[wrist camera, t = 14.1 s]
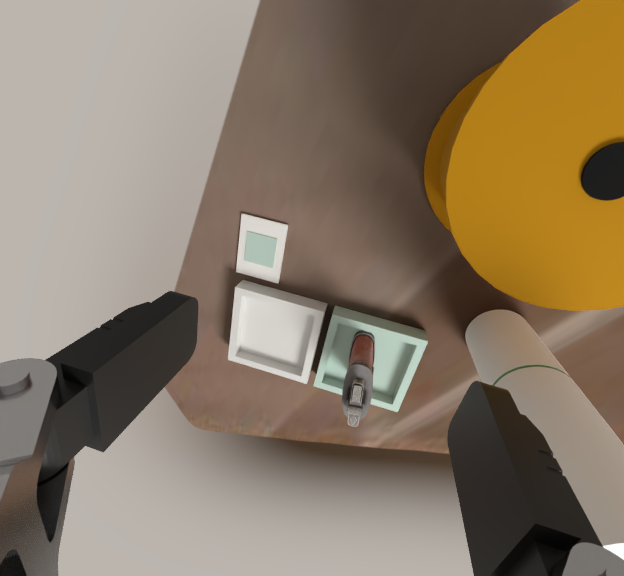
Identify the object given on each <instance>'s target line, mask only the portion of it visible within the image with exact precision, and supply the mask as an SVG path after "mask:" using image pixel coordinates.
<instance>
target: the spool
mask: <svg viewBox="0 0 624 576" xmlns="http://www.w3.org/2000/svg"><path fill="white" fill-rule="evenodd" d="M424 185H425V189H426V193H427V197H428V201H429V203H430V205H431V207H432V209H433V211H434V213H435V215H436V216H437V218H438V219H439V220H440V221H441V223H442V224H443V225H444V226H445V228H446V229H448V230H449V231H450V232H451V233H452V235H453V237H454V239H455V241H456V243H457V245H458V247H459V250H460V252H461V253H462V255H463V256H464V257H465V258H466V260H467V261H468V262H469V263H470V265H471V266H472V267H473V268H474V270H475V271H476V272H477V273H478V274H479V275H480V276H481V277H483V278H484V279H485V280H486V281H488V282H489V283H490V284H491V285H493V286H494V287H495V288H496V289H498V290H500V291H502V292H504V293H506V294H508V295H510V296H512V297H514V298H516V299H518V300H520V301H524V302H527V303H531V304H534V305H538V306H541V307H544V308H553V309H562V310H570V311H581V310H605V309H610V308H616V307H621V306H624V0H580V1H578V2H577V3H575V4H574V5H572V6H571V7H569V8H568V9H566V10H565V11H563V12H562V13H560V14H558V15H557V16H555V17H554V18H552V19H551V20H549V21H548V22H546V23H545V24H543V25H542V26H541V27H539V28H538V29H537V30H536V31H535V32H533V33H532V34H531V35H530V36H529V37H528V38H527V39H526V40H524V41H523V42H522V43H521V44H520V45H519V46H518V47H517V48H515V49H514V50H513V51H512V52H511V53H510V54H509V55H508V56H507V57H505V59H504V60H503V61H502V62H500V63H497V64H496V65H494V66H493V67H491V68H490V69H488V70H486V71H485V72H483V73H482V74H480V75H479V76H477V77H476V78H475V79H473V80H472V81H471V82H470V83H469V84H468V85H467V86H466V87H465V88H463V89H462V90H461V91H460V92H459V93H458V94H457V95H456V97H455V98H454V99H453V100H452V101H451V103H450V104H449V105H448V106H447V108H446V109H445V110H444V112H443V113H442V115H441V117H440V119H439V121H438V122H437V124H436V126H435V128H434V129H433V132H432V135H431V138H430V141H429V143H428V146H427V150H426V156H425V162H424Z"/></svg>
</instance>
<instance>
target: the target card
mask: <svg viewBox="0 0 624 576" xmlns="http://www.w3.org/2000/svg"><path fill="white" fill-rule="evenodd" d="M287 230H288V225H287V224H283V223H279V222H275V221H271V220H267V219H263V218H260V217H256V216H252V215H248V214H244V213H242V215H241V225H240V236H239V246H238V256H237V266H236V272H238V273H241V274H245V275H249V276H252V277H256V278H260V279H263V280H267V281H270V282H274V283H279V279H280V273H281V267H282V261H283V254H284V248H285V242H286V236H287Z"/></svg>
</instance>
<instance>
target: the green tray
mask: <svg viewBox="0 0 624 576" xmlns="http://www.w3.org/2000/svg"><path fill="white" fill-rule="evenodd" d="M360 330H364V331H367V332H371V333H372V334H373V335H374V338H375V360H374V365H373V367H374V374H373V390H372V399H371V403H370V404H373V405H376V406H379V407H382V408H385V409H389V410H392V411H395V412H398V410H399V408H400V405H401V403H402V401H403V398H404V396H405V394H406V391H407V389H408V387H409V385H410V382H411V380H412V378H413V375H414V373H415V371H416V368H417V366H418V364H419V361H420V359H421V357H422V354H423V352H424V350H425V347H426V345H427V343H428V339H427V334H426V331H425V330H421V329H418V328H414V327H411V326H407V325H403V324H400V323H396V322H393V321H389V320H385V319H382V318H378V317H375V316H371V315H368V314H364V313H360V312H357V311H353V310H350V309H346V308H343V307H339V306H335V307H334V310H333V313H332V317H331V321H330V325H329V328H328V332H327V336H326V340H325V344H324V348H323V352H322V355H321V359H320V363H319V367H318V371H317V375H316V379H315V382H314V386H315V387H318V388H321V389H324V390H328V391H331V392H334V393H337V394H340V395H342V391H343V385H344V380H345V376H346V373H347V370H348V367H349V353H350V349H351V344H352V341H353V338H354V335H355V333H356V332H358V331H360Z"/></svg>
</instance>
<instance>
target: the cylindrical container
mask: <svg viewBox="0 0 624 576" xmlns="http://www.w3.org/2000/svg"><path fill="white" fill-rule="evenodd" d="M465 340H466V344H467V346H468V349H469V351H470V354H471V356H472V359H473V361H474V364H475V366H476V369H477V372H478V374H479V377H480V379H481V382H483V383H486V384H489V385H493V386H496V387H500V388H503V389H506V390H508V391H509V392H510V394H511V396H512V398H513V400H514V402H515V404H516V406H517V408H518V410H519V412H520V414H522V415H526V416H527V418H528V419H529V420H530V421H531V422H532V423H533V424H534V425H535V426H536V427H537V429H538V430H539V431H540V432H541V433H542V434H543V436H544V437H545V439H546V441H547V443H548V445H549V447H550V449H551V450H552V452H553V454H554V455H553V458H556V460H557V462H558V464H559V465H560V467H561V469H562V471H563V473H562V475H563V476H565V477H566V478H567V480H568V482H569V484H570V486H571V488H572V490H573V491H574V493H575V495H576V497H577V499H578V501H579V503H580V505H581V506H582V508H583V510H584V512H585V514H586V516H587V518H588V519H589V521H590V523H591V525H592V527H593V529H594V531H595V533H596V534H597V536H598V538H599V540H600V542H601V544H602V546H603V547H604V548H605V549H607V550H609V551H611V552H612V553H614V554H616V555H617V556H619V557H620V558H622V559H623V560H624V444H623V443H622V442H621V441H620V439H619V438H618V437H617V435H616V434H615V433H614V432H613V430H612V429H611V428H610V427H609V425H608V424H607V423H606V421H605V420H604V419H603V418H602V416H601V415H600V414H599V413H598V411H597V410H596V409H595V408H594V406H593V405H592V404H591V402H590V401H589V400H588V399H587V397H586V396H585V395H584V394H583V392H582V391H581V390H580V388H579V387H578V386H577V385H576V383H575V382H574V381H573V380H572V378H571V377H570V376H569V375H568V373H567V372H566V371H565V369H564V368H563V367H562V366H561V364H560V363H559V362H558V361H557V359H556V358H555V357H554V355H553V354H552V353H551V352H550V350H549V349H548V348H547V347H546V345H545V344H544V343H543V342H542V340H541V339H540V338H539V336H538V335H537V334H536V333H535V331H534V330H533V329H532V328H531V326H530V325H529V324H528V322H527V321H526V320H525V319H524V318H523V317H522V316H521V315H519V314H517V313H515V312H512V311H509V310H491V311H488V312H484V313H482V314H481V315H479V316H477V317H476V318H475V319H473V320H472V322H471V323H470V324H469V326H468V327H467V330H466V333H465Z"/></svg>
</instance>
